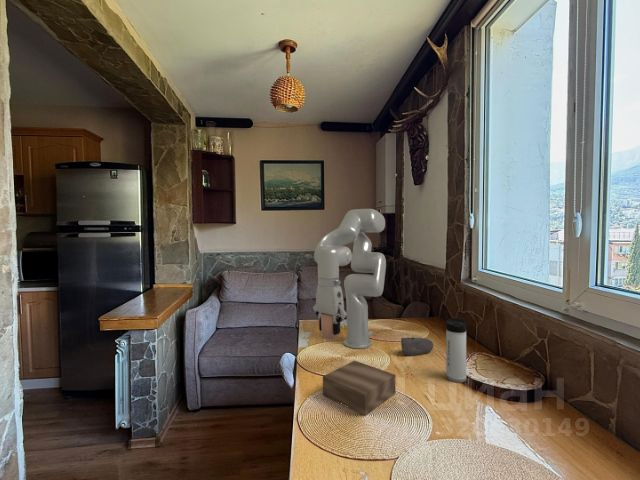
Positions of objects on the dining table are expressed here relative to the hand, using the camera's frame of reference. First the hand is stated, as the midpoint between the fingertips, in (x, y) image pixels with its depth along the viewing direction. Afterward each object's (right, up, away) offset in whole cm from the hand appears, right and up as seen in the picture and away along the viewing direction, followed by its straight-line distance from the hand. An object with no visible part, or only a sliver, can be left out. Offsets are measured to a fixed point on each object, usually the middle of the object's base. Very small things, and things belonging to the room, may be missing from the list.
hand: (329, 331), depth 112 cm
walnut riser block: (+9, -15, -16) cm, 23 cm away
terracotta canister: (0, -2, 0) cm, 2 cm away
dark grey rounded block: (+36, -14, +16) cm, 42 cm away
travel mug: (+43, -15, -6) cm, 46 cm away
